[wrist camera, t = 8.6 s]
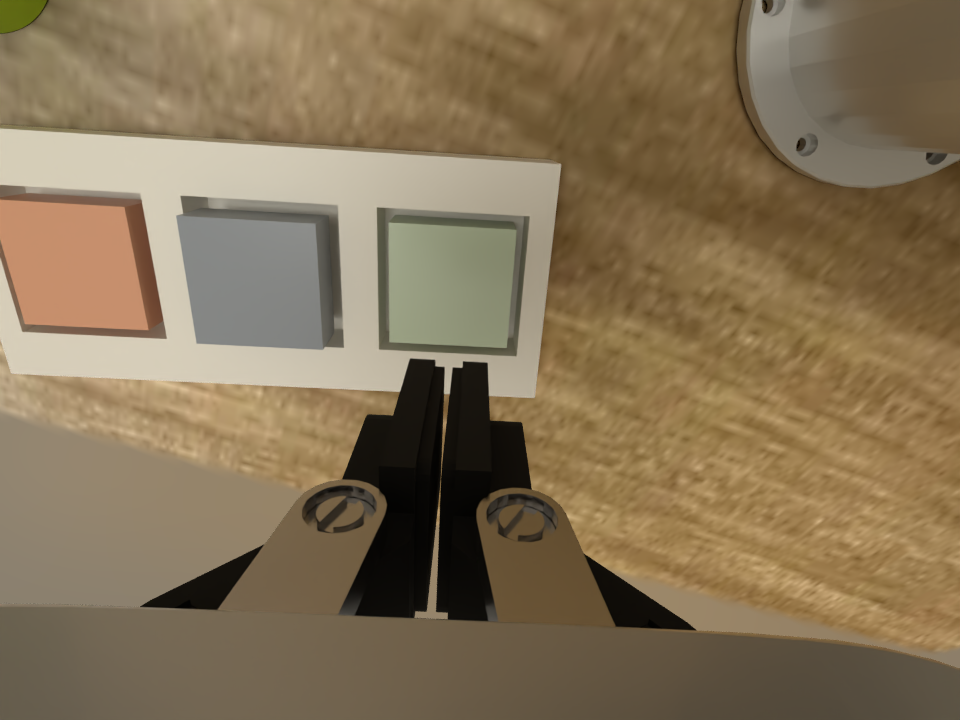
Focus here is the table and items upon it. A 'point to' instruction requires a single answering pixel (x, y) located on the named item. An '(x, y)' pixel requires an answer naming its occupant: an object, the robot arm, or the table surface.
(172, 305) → the button panel
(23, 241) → the terracotta button
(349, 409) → the table surface
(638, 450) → the table surface
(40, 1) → the soap dispenser
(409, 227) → the sage button
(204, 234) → the slate button
